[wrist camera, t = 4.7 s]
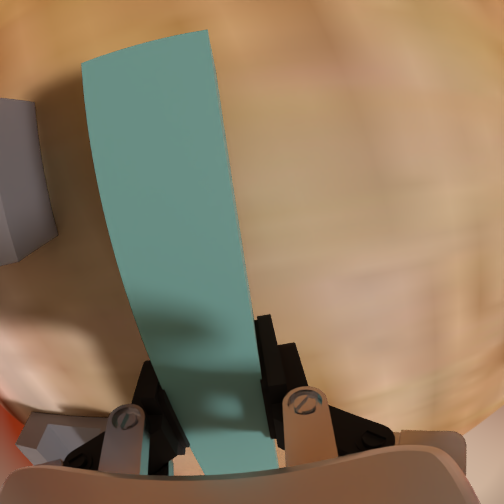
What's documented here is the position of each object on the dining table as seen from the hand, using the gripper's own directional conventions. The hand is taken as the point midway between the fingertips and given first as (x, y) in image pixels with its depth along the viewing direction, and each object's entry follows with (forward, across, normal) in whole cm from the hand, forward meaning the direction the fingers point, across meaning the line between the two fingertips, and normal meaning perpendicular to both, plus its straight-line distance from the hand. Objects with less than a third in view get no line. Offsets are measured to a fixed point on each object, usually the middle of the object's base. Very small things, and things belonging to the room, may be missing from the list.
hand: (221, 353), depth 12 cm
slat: (+1, 0, 0) cm, 1 cm away
